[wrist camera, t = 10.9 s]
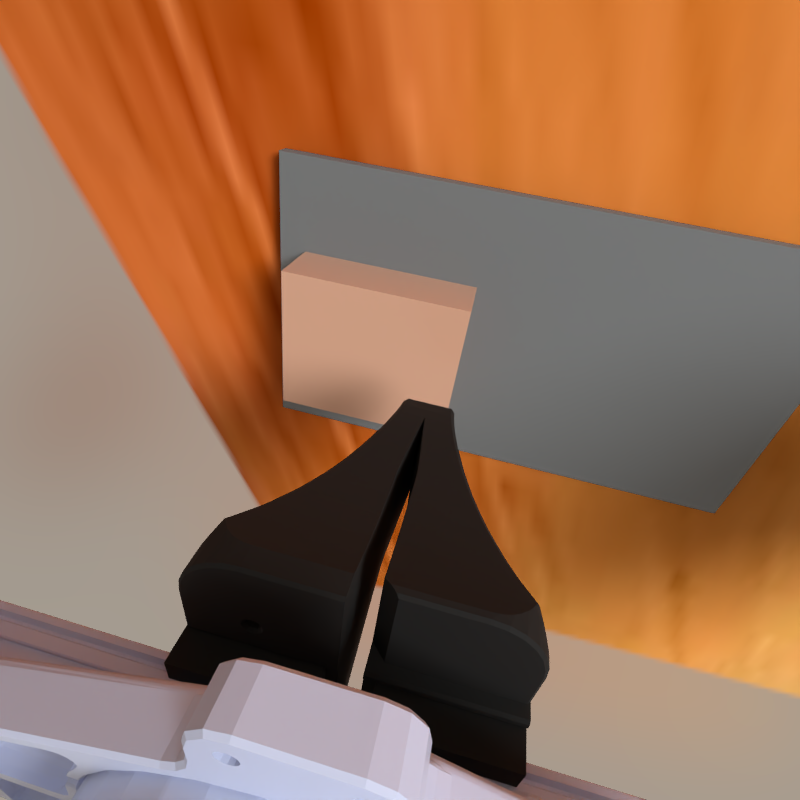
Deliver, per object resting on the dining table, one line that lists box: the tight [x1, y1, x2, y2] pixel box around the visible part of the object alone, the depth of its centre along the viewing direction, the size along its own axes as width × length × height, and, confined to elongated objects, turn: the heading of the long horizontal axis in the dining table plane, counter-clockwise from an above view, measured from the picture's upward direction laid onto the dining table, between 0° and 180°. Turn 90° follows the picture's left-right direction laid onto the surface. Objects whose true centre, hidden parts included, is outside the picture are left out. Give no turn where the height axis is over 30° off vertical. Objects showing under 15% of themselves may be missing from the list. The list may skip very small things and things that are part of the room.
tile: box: [281, 252, 477, 425], centre depth 17 cm, size 2×5×6 cm
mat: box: [279, 148, 800, 513], centre depth 17 cm, size 18×10×1 cm, turn 82°
